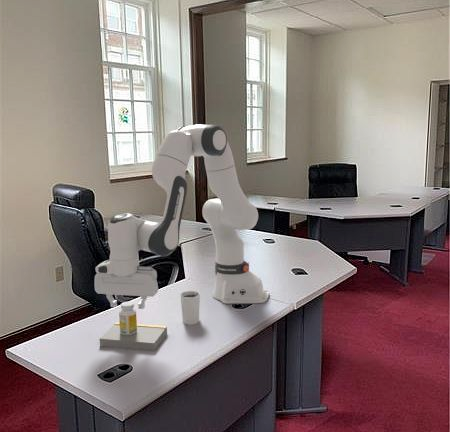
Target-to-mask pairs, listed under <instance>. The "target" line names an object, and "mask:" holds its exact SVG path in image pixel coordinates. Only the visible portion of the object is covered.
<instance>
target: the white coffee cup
mask: <svg viewBox="0 0 450 432" xmlns="http://www.w3.org/2000/svg"><path fill="white" fill-rule="evenodd" d="M200 296H201V294H200V292H199V291H196V290H186V291H182V292H181V293H180V304H181V305H180V307H181V315H182V316H181V317H182V323H183V324H185V325H190V326H191V325H196V324H198V323H200V298H201V297H200Z"/></svg>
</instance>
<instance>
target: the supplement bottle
mask: <svg viewBox="0 0 450 432" xmlns="http://www.w3.org/2000/svg"><path fill="white" fill-rule="evenodd" d="M134 307H135V304H134V302H133V301H123V302H122V303H120V308H121V309H120V310H119V312H118V314H119V317H118V318H119V323H120V333H121V334H123V335H131V334H134V333H136V331H137V324H138V323H137V322H138V321H137V310H136V309H135V308H134Z"/></svg>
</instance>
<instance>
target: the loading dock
mask: <svg viewBox="0 0 450 432" xmlns="http://www.w3.org/2000/svg"><path fill="white" fill-rule="evenodd" d="M167 334H168V326H167V325H166V326H165V325H154V324H142V323H137V331H136V333H134V334H131V335H123V334H121V333H120V322H119V321H118V322H115V323H114V324H113V325H112V326H110V328H109V329H108V330H107V331H106V332H105V333H104V334H103V335H101V336H100V337H99V346H100V347H105V348H107V347H109V348H119V349H120V348H121V349H129V350H139V351H140V350H142V351H150V352H151V351H153V352H155V350H156V349H157V348H158V347H159V345H160V344H161V343H162V341H163V340H164V338H165V337H166V336H167Z"/></svg>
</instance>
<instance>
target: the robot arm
mask: <svg viewBox="0 0 450 432" xmlns="http://www.w3.org/2000/svg"><path fill="white" fill-rule="evenodd" d="M191 157H203V160H204V167H205V172H206V177H207V181H208V186H209V189H210V190H211V192H212V193H213V194H215V196H216V197H217V198H210V199H208V200H206V201H205V203H204V204H203V206H202V210H201V211H202V212H201V213H202V214H201V215H202V217H203V219H204V221H205V222H206V223H207V225H208V226H209V228H210V230H211V233H212V235H213V239H214V243H215V262H214V273H215V283H214V289H213V292H212V296H213V298H215V299H216V300H218V301H220V302H222V303H223V304H230V305H231V304H232V305H233V304H263V303H265V302H267V300H268V299H269V297H270V294H269V290H267V288H264V285H263V282H262V279H261V278H260V277H258V276H257V275H256V274H255V273H253V272H252V271H251V270H250V263H249V261H245V245H244V244H245V243H244V241H243V240H242V238H241V237H240V236H239V235H238V233H237V230H238V231H247V230H252V229H253V228H254V227H255V226H256V225H257V222H258V220H259V212H258V209H257V206H255V205H254V204H253V203H251V201H250V200H249V199H248V198H247V197H246V195H245V193H244V191H243V189H242V187H241V185H240V182H239V179H238V173H237V168H236V165H235V160H234V155H233V152H232V148H231V147H230V144H229V141H228V137H227V134H226V131H225V129H223V127H222V126H220V125H217V124H201V123H199V124H193V125H192V124H191V125H183V126H180V127H178V128H176V129H175V130H172V131H169V132H168V133H167V134H166V135H165V137H164V138H163V140H162V141H161V144H160V146H159V147H158V150H157V152H156V154H155V158H154V160H153V163H152V167H151V176H152V178H153V180H154V181H155V183H156V184H157V185H158V186H159V187H161V188H162V189H163V190H164V191H165V192H166V201H165V206H164V211H163V215H162V219H161V221H159V222H156V221H152V220H148V219H147V220H146V219H143V218H139V217H137V216H135V215H134V214H133V213H129V212H124V213H118V214H116V215H114V216H112V217H111V218H110V219H109V221H108V225H107V226H108V227H107V241H108V242H107V243H108V247H109V250H110V251H109V252H110V253H109V259H107V260H104V261H102V262H100V263H99V264H98V265H97V266H95V272H96V274H95V275H94V291H95V292H96V293H97V294H99V295H101V294H102V295H106V296H105V297H106V299H107V300H108V302H109V304H110V307H111V308H115V307H117V306H118V301H117V299H115V298H114V295H118V296H130V297H131V296H134V297H140V299H141V301H139V302H138V303H137V306H138V307H137V308H138V309H140V310H143V309H145V307H146V305H145V302H146V301H147V299H148V297H149V298H150V297H154V296H156V295H157V294H158V291H159V285H158V280H157V278H158V273H157V270H156V269H154V268H153V267H152V266H140V262H139V261H140V259H139V258H140V257H139V252H140V251H144V252H149V253H152V254H155V255H156V256H160V257H167V256H170V255H172V254H173V252H175V250H176V249H177V248H178V245H179V243H180V229H181V228H180V227H181V223H182V219H183V214H184V209H185V204H186V198H187V193H188V182H187V181H186V173H187V172H186V171H187V169H188V165H189V163H190V161H191V160H190V158H191Z"/></svg>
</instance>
